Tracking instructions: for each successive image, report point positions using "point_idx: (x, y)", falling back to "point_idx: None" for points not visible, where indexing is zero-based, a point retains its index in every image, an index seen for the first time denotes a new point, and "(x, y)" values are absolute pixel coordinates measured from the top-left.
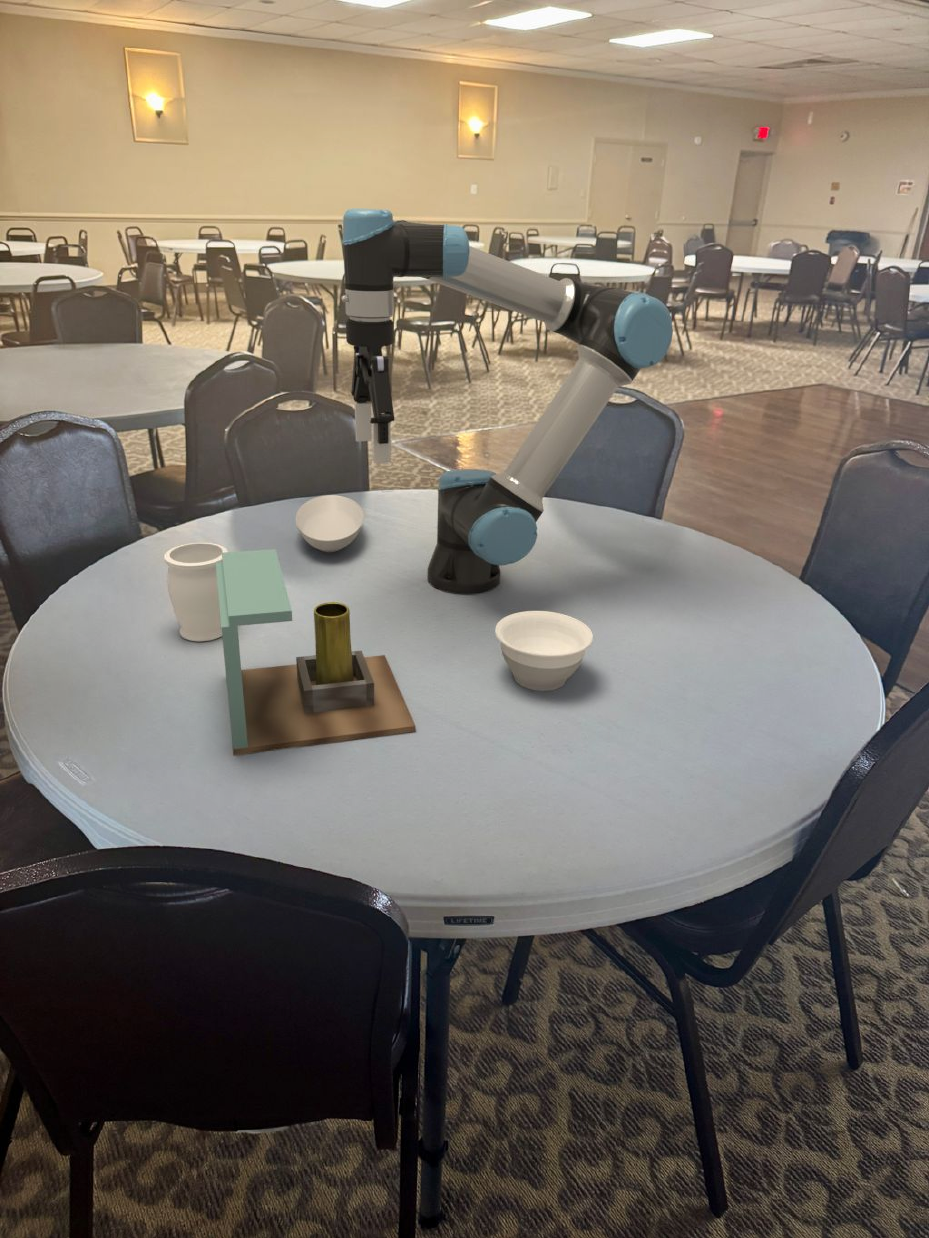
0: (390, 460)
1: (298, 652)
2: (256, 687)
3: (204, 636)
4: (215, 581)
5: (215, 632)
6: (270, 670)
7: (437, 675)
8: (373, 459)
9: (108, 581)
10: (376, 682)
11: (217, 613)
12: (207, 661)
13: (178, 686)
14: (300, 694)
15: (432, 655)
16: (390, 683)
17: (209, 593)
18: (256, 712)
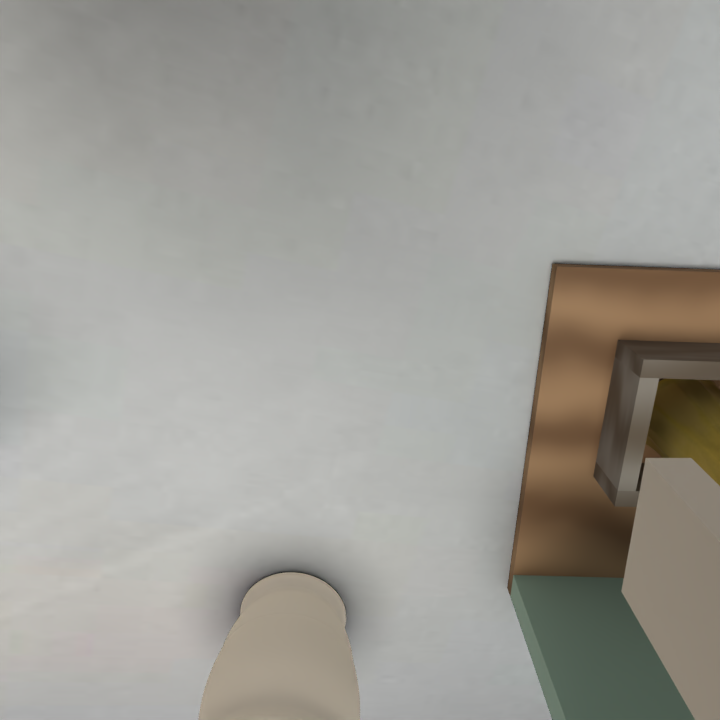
0: (697, 469)
1: (446, 447)
2: (596, 551)
3: (343, 623)
4: (344, 707)
5: (335, 605)
6: (536, 520)
7: (676, 148)
8: (635, 609)
9: None
10: (677, 317)
11: (343, 637)
12: (431, 613)
13: (513, 660)
14: None
15: (571, 128)
16: (696, 286)
17: (356, 698)
18: None
